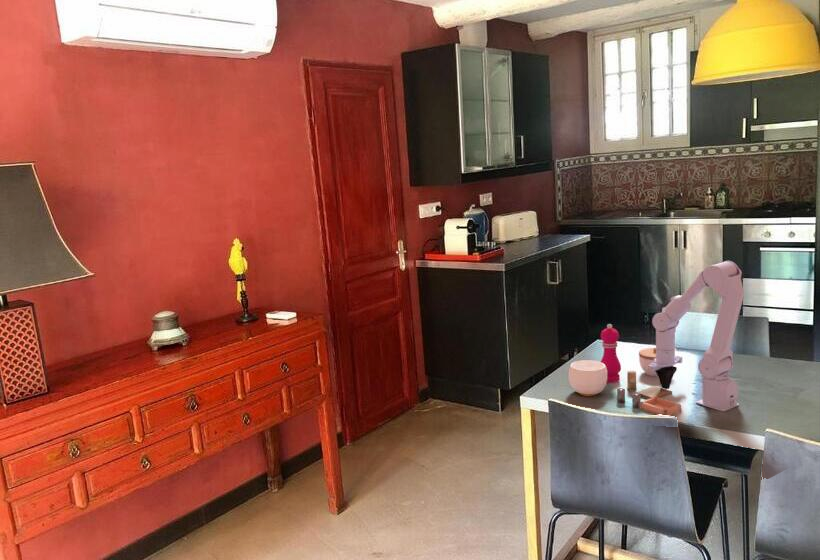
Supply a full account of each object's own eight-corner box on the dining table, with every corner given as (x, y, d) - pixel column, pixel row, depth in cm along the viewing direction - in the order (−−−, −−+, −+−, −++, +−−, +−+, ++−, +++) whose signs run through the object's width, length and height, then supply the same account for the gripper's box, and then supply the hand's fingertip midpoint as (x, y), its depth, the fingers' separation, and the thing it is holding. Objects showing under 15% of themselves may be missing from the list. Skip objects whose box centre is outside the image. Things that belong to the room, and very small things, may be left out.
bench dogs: (642, 406, 209) (642, 394, 208) (637, 408, 208) (636, 396, 207) (620, 399, 216) (620, 387, 215) (615, 401, 215) (615, 389, 214)
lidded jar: (653, 380, 231) (653, 354, 229) (632, 372, 240) (632, 346, 239) (678, 375, 235) (678, 349, 233) (656, 366, 244) (656, 341, 243)
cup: (579, 402, 216) (578, 373, 214) (563, 389, 228) (562, 362, 226) (614, 396, 218) (614, 368, 217) (596, 384, 230) (596, 357, 229)
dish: (681, 411, 203) (681, 404, 203) (665, 417, 200) (665, 410, 199) (655, 403, 211) (655, 396, 211) (640, 408, 207) (640, 402, 207)
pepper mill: (604, 375, 239) (603, 320, 236) (624, 378, 235) (623, 322, 231) (596, 381, 234) (595, 325, 230) (616, 384, 229) (615, 327, 226)
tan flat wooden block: (672, 396, 217) (672, 391, 217) (653, 402, 213) (653, 398, 212) (654, 390, 223) (654, 385, 223) (635, 396, 219) (635, 392, 218)
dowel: (638, 389, 224) (638, 372, 223) (632, 391, 222) (632, 374, 221) (631, 387, 226) (631, 370, 225) (625, 389, 225) (625, 372, 223)
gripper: (669, 341, 225) (669, 379, 228) (640, 350, 218) (640, 390, 220) (687, 345, 219) (687, 385, 222) (658, 354, 212) (658, 395, 214)
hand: (665, 388), depth 221 cm, fingers closed
